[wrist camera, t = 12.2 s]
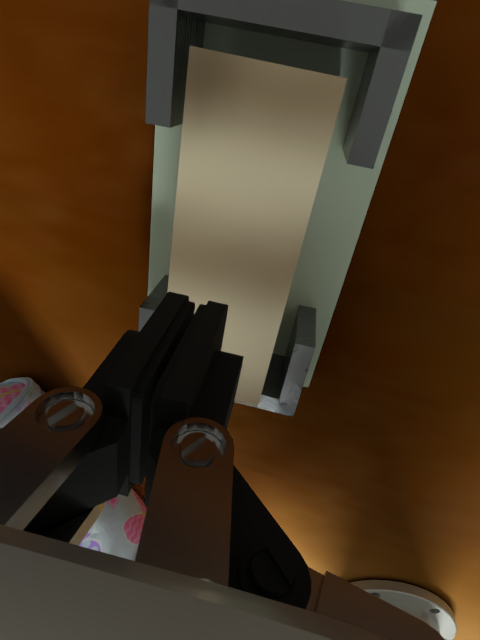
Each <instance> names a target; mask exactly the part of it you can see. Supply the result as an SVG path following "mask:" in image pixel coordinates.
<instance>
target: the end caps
mask: <svg viewBox="0 0 480 640" xmlns="http://www.w3.org/2000/svg"><path fill="white" fill-rule="evenodd" d="M422 16H423V15H421V14H415V13H410V12H404V11H399V10H393V9H387V8H382V7H376V6H371V5H365V4H359V3H354V2H348V1H342V0H149V26H148V57H147V87H146V118H145V123H148V124H153V125H158V126H163V127H167V128H171V127H174V126H177V125H180V124H183V114H184V103H185V91H186V80H187V69H188V58H189V47H190V46H194V47H199V48H203V43H204V32H205V23H210V24H216V25H221V26H226V27H232V28H237V29H243V30H248V31H253V32H259V33H264V34H270V35H275V36H280V37H286V38H291V39H296V40H302V41H307V42H313V43H318V44H323V45H329V46H334V47H340V48H345V49H350V50H356V51H361V52H367V53H368V57H367V61H366V64H365V68H364V72H363V75H362V79H361V82H360V86H359V90H358V93H357V97H356V101H355V104H354V108H353V111H352V115H351V119H350V122H349V126H348V129H347V133H346V137H345V140H344V144H343V148H342V149H343V152H344V156H345V159H346V162H347V164H350V165H355V166H360V167H365V168H370V169H373V168H374V165H375V162H376V159H377V155H378V152H379V149H380V146H381V143H382V140H383V137H384V134H385V131H386V128H387V124H388V121H389V118H390V115H391V112H392V109H393V106H394V103H395V100H396V97H397V93H398V90H399V87H400V84H401V81H402V78H403V75H404V72H405V69H406V66H407V62H408V59H409V56H410V53H411V50H412V47H413V44H414V41H415V38H416V35H417V31H418V28H419V25H420V22H421V19H422ZM168 280H169V275H164V277H163V278H162V279H161V281H160V282H159V283H158V284H157V286H156V287H155V288H154V289H153V291H152V292H151V293H150V294H149V296H148V297H147V298H146V299H145V301H144V302H143V303H142V305H141V306H140V307H139V332H140V331H141V329H142V328H143V326H144V325H145V324H146V322H147V321H148V319H149V318H150V317H151V315H152V314H153V312H154V311H155V310H156V308H157V307H158V305H159V304H160V303H161V301H162V300H163V298H164V297H165V296H166V294H167V291H168ZM315 343H316V309H315V308H311V307H306V306H302V305H299V307H298V310H297V314H296V318H295V321H294V325H293V328H292V332H291V336H290V339H289V343H288V347H287V350H286V354H285V356H282V355H278V354H273V353H272V357H271V360H270V364H269V368H268V371H267V375H266V379H265V382H264V386H263V390H262V393H261V397H260V401H259V404H258V407H255V406H251V405H247V404H243V403H239V402H235V401H234V402H235V403H239V404H243V405H247V406H251V407H255V408H260V409H264V410H268V411H272V412H276V413H280V414H284V415H288V416H294V413H295V410H296V407H297V403H298V400H299V397H300V394H301V391H302V388H303V385H304V382H305V379H306V376H307V372H308V369H309V366H310V363H311V360H312V357H313V354H314V351H315Z"/></svg>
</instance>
